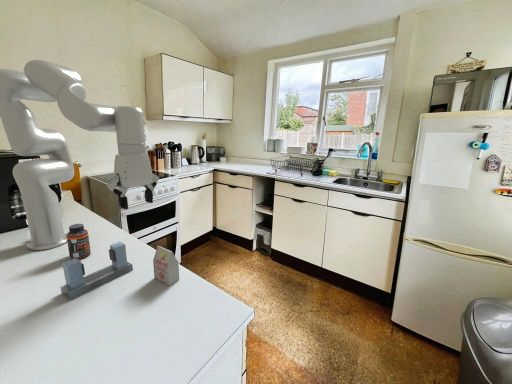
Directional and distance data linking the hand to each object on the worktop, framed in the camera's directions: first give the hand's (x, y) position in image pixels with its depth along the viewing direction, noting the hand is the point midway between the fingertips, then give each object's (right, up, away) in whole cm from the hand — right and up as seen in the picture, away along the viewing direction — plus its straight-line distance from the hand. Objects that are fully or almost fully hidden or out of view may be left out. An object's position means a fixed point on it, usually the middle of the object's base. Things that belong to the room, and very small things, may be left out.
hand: (137, 205), depth 76 cm
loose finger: (-5, -19, -2) cm, 19 cm away
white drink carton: (+11, -22, -4) cm, 25 cm away
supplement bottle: (-23, -18, +7) cm, 30 cm away
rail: (-8, -22, -6) cm, 24 cm away
